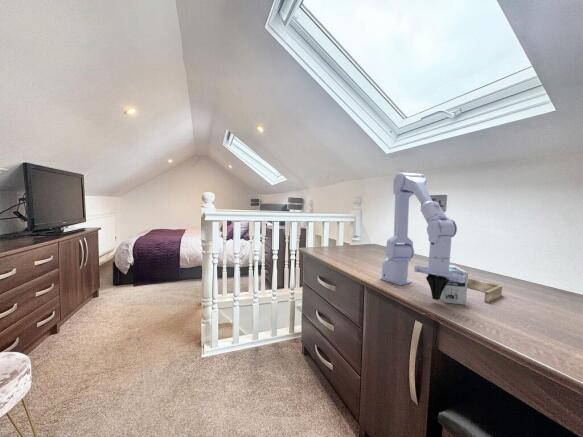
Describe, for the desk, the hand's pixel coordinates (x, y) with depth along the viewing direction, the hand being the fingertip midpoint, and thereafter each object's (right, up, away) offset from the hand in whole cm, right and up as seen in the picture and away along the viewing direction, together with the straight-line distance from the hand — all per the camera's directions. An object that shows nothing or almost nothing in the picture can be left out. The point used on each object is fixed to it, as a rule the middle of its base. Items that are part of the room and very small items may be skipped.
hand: (436, 298), depth 81 cm
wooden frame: (+18, -1, +13) cm, 23 cm away
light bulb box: (+7, -2, +5) cm, 9 cm away
